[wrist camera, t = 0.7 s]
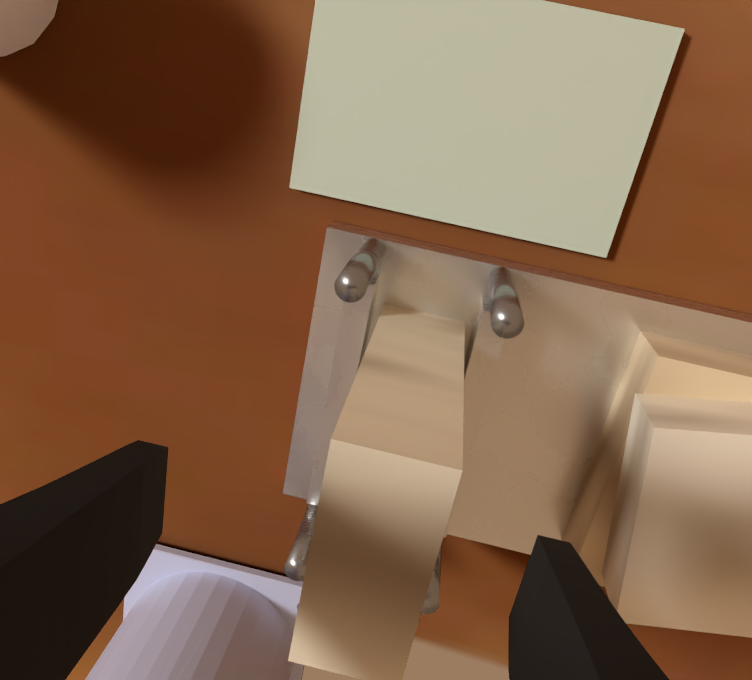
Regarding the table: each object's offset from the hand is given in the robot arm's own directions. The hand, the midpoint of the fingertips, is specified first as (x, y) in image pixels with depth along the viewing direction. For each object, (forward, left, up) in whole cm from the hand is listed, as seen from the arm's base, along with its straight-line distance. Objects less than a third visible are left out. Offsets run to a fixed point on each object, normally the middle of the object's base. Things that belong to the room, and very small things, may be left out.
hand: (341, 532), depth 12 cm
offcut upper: (-1, -10, -7) cm, 12 cm away
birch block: (-1, -1, -9) cm, 9 cm away
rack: (-1, -5, -10) cm, 12 cm away
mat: (+8, -1, -10) cm, 13 cm away
